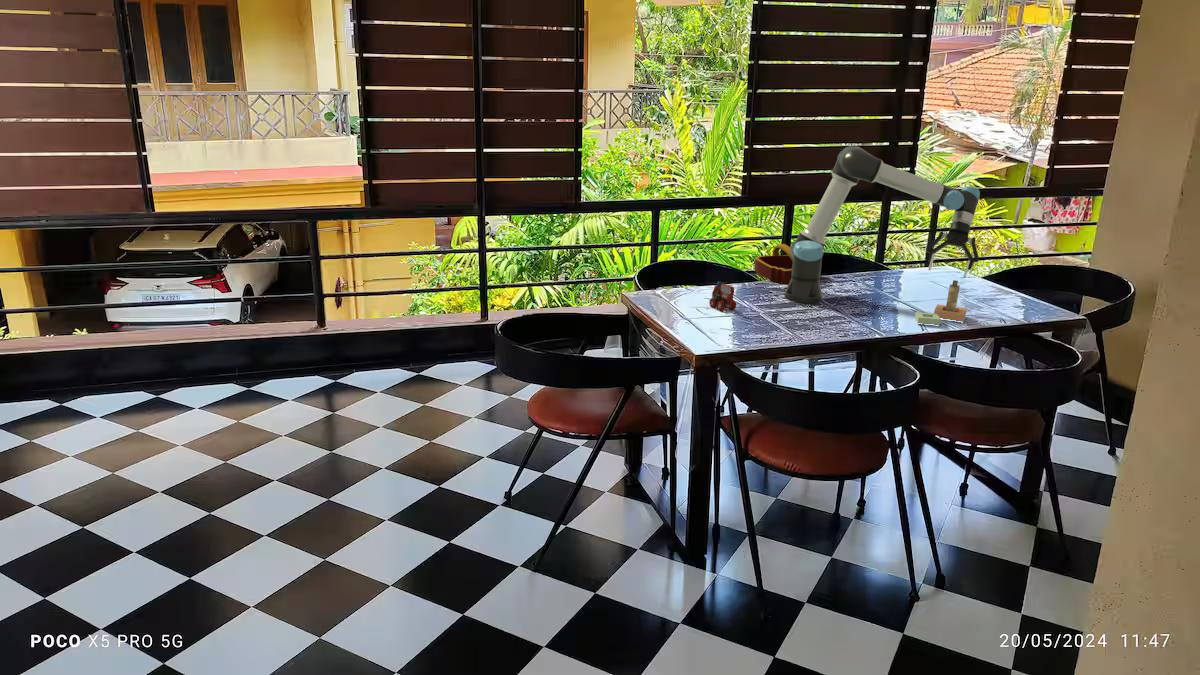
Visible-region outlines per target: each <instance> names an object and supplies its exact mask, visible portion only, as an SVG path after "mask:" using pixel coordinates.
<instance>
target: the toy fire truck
mask: <svg viewBox="0 0 1200 675" xmlns="http://www.w3.org/2000/svg"><path fill="white" fill-rule="evenodd" d="M734 294H735V288H734V286H732V285H729V284H727V283H722V282H721V281H717V283H716V285H714V288H713V290H712V293H711V298H709V306H710V308H712V309H717V311H718V312H724V311H725V309H729V310H730V311H735V310H736V308H737V302H736V300H735V299H734Z"/></svg>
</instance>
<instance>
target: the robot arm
mask: <svg viewBox="0 0 1200 675" xmlns="http://www.w3.org/2000/svg"><path fill="white" fill-rule="evenodd" d="M831 176H832V179H831V180H830V182H829V184H828V186H827V188H826V190H825V192H824V194H823V195H822V198H821V199H820V201H819V203H818V205H817V207H816V209H815V211H814V213H813V214H812V217H811V219H810V220H809V222H808V225H807V227H806V229H804V230H801V231H800V232H799V234H798V236H797V238H796V239H795V241H793V243H791V246H790V256H791V259H792V261H793V264H792V274H791V280H790V282H789V284H787V287H786V289H785V292H784V298H785V299H786V300H788V301H791V302H795V303H801V304H818V303H821V302H822V301H823V300H822V299H823V293H822V288H821V283H820V280H821V272H822V262H823V256H824V248H825V245H826V244H827V243H826V240H825V238H826V236H827V234H828V232H829V231H830V228H831V227H832V225H833V223H834V220H835V219H836V217H837V216H838V213H839V211H840V210H841V207H842V205H843V204H844V202H845V201H846V198H847V196H848V194H849V192H850V190H851V189H852V187H854V186H856V185H858V183H859V181H860V180H862V181H866V182H868V183H871V184H872V183H878V184H882V185H884V186H887V187H890V188H893V189H895V190H898V191H900V192H903V193H907V194H909V195H911V196H914V197H917V198H919V199H922V200H924V201H928V202H930V203H933V204H935V205H938V206H941V207H943V208H946V210H949V211H954V213H953V215H952V219H951V223H950V226H949V230H948V232H947V233H945V232H943V231H942V230H941V231H940V232H939V234H938V236H937V237H936V238H935V239H934V240H933V241H932V242H931V243H930V244H929V245H928V246H927V248H926V249H925V252H926V253H928V254H929V255H928V258H927V261H928V263H929V265H928V267H927V268H928V271H931V269H932V267H933V263H934V260H935V257H936V255H935V254H936V253H937V252H939V251H941V250H942V249H944V248H946V247H947V246H949V245H950V246H952V247H957V248H959V247H961V248H962V250H963V251H964V253H965V255H966V257H967V259H968V260H967V263H966V266H965V270H964V273H963V278H964V279H966V278H967V274H968V271H971V270H972V268H973V264H974V263H979V261H980V258H979V254H978V249H977V246H976V237H974V236H973V237H969V234H970V232H971V228H972V227H971V226H972V223H973V220H974V218H975V213H976V210H977V207H978V203H979V201H980V196H981V192H980V190H979V188H976V187H974V186H969V185H966V186H963V187H961V189H958V188H955V187H952V186H949V185H946V184H943V183H939V182H935V181H933V180H930V179H927V178H925V177H921V176H919V175H917V174H913V173H911V172H909V171H905V170H903V169H900V168H899V167H898V168H897V167H894V166H893V165H889V164H887V163H884V161H883V160H882V159H881V158H879V157H875V156H874V155H873V154H870V153H869V152H868V151H866V150H865V149H863V148H861V147H860V146H858V145H850V146H846V147H845V148H843V149H842V150H841V151H840V152H839V154H838V155H837V158H836V162H835V165H834V167H833V168H832V170H831ZM944 238H946V239H945V240H944V242H941V243H940V244H938V243H939V242H940V241H941V240H942V239H944ZM967 242H969V244H971V248H972V253H973V255H972V253H971V252H970V250H969V248H968V247H967V244H966V243H967ZM937 244H938V245H937ZM936 245H937V246H936ZM935 246H936V247H935ZM973 256H974V257H973Z"/></svg>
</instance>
